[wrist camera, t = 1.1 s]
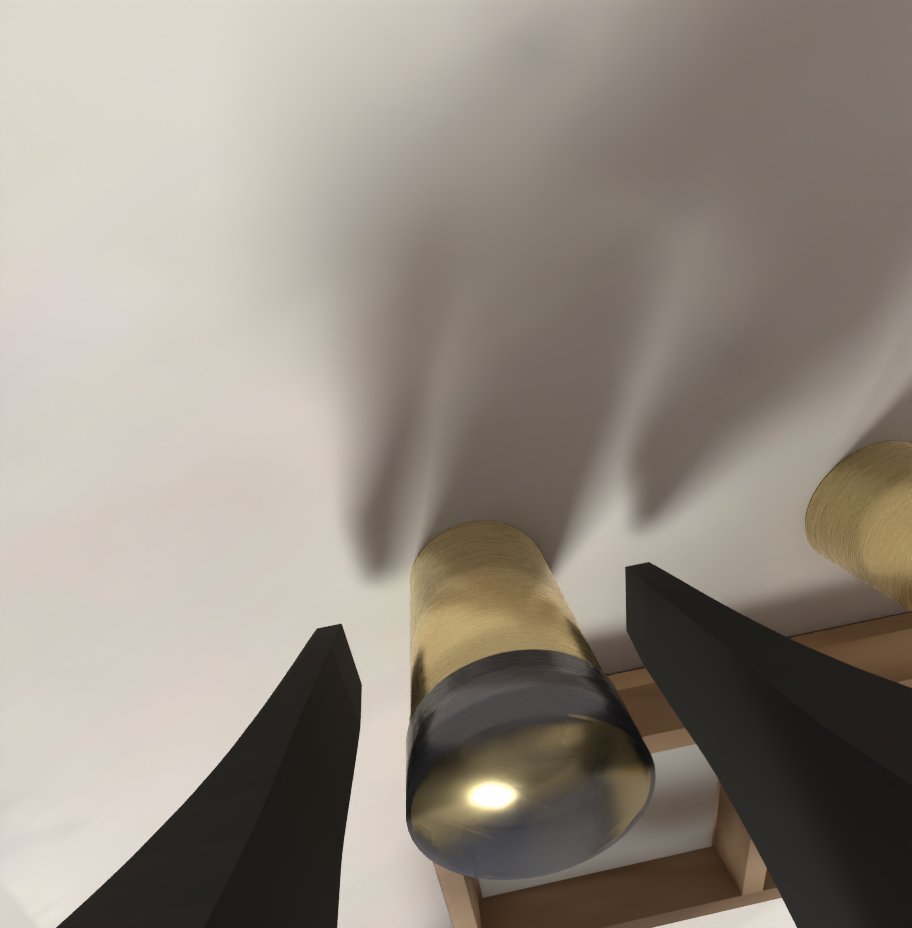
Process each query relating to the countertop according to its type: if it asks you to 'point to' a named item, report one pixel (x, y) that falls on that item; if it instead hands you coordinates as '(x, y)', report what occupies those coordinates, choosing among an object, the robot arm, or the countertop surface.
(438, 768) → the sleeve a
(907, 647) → the holder
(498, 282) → the countertop surface
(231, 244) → the countertop surface
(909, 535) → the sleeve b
